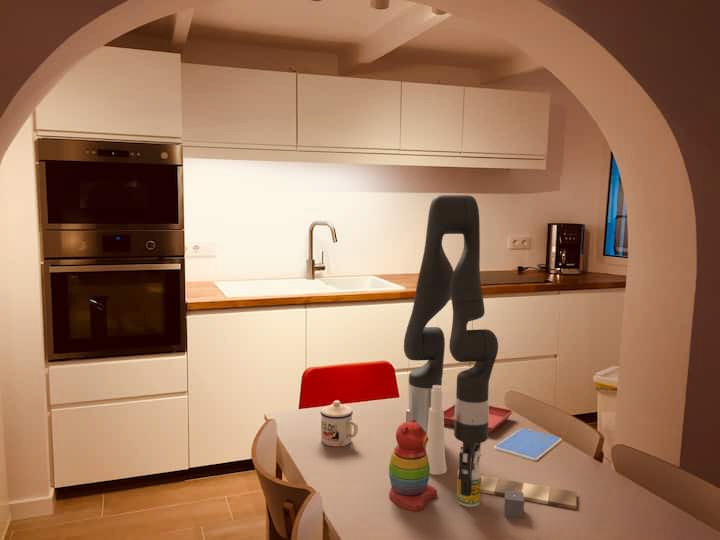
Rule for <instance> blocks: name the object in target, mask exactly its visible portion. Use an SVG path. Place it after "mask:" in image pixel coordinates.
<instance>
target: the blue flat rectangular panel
mask: <svg viewBox="0 0 720 540" xmlns="http://www.w3.org/2000/svg"><path fill="white" fill-rule="evenodd" d="M561 442H562V438H561V437H559V436H554V435H552V434H547V433H543V432H540V431H536V430H532V429H528V428H524V427H522V428H519V430H517V431H515V432H514V433H512V434H511V435H509V436H508V437H506V438H505V439H503V440H502V441H500V442H499V443H497V444H496V445H494V450H496V451H498V452H502V453H505V454H508V455H511V456H515V457H519V458H522V459H526V460H529V461H532V462H537V461H538V460H540V459H541V458H542V457H543V456H544V455H546V454H547V453H548V452H550V451H551V450H552V449H553V448H554V447H555V446H557V445H559V444H560V443H561Z"/></svg>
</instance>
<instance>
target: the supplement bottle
mask: <svg viewBox="0 0 720 540" xmlns="http://www.w3.org/2000/svg"><path fill="white" fill-rule="evenodd" d="M479 463H480V462H478V461H477V462H476V469H475V470H474V471H473V475H472V477H473V478H472V489H471V496H464V495H462V494H461V480H460V479H459V478H458V476H459V469H458V470H457V479H456V480H457V483H456V484H457V487H456V490H457V491H456V492H457V493H456V496H457V497H456V500H457V503H458V504H459V505H461V506H463V507H466V508H468V507H469V508H474V507H477V506H479V505H480V503H481V501H482V500H481V498H482V497H481V496H482V492H481V476H482V472H481V470H480V469H479V468H480V467H479V466H480V464H479ZM471 465H472V464H471ZM464 474H468V470H464Z"/></svg>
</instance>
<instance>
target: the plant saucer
mask: <svg viewBox="0 0 720 540" xmlns="http://www.w3.org/2000/svg"><path fill="white" fill-rule="evenodd" d="M513 413H514V410H512V409H508V408H502V407H497V406H493V405H489V424H488V435H489V434H490V433H492V432H493V431H494V430H495V429H496V428H498V427H499V426H500V425H501V424H503V423H504V422H505V421H506V420H508V419H509V417H510V416H511V415H512V414H513ZM445 423H446V424H445ZM454 423H455V404H453V405H451V406H450V407H448V408H447V409H444V424H445V425H450V426H453V425H454Z"/></svg>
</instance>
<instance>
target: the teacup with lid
mask: <svg viewBox="0 0 720 540" xmlns="http://www.w3.org/2000/svg"><path fill="white" fill-rule="evenodd" d="M320 415H321V429H320V430H321V439H320V440H321V443H322V444H324V445H325V446H328V447H344V446H347V445H349V444H350V443H351V442H352V438H355V437H356V436H357V434H358V431H359V426H358V424H357V423H356V421H355V420H353V416H352V415H353V409H352V408H351V407H349V406H347V405H344V404H342V403H341V402H340V400H334V401H333V402H332V403H331V404H330V405H326V406H324V407H323V408H322V409H321V411H320ZM352 429H353V431H352ZM352 432H353V433H352Z"/></svg>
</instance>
